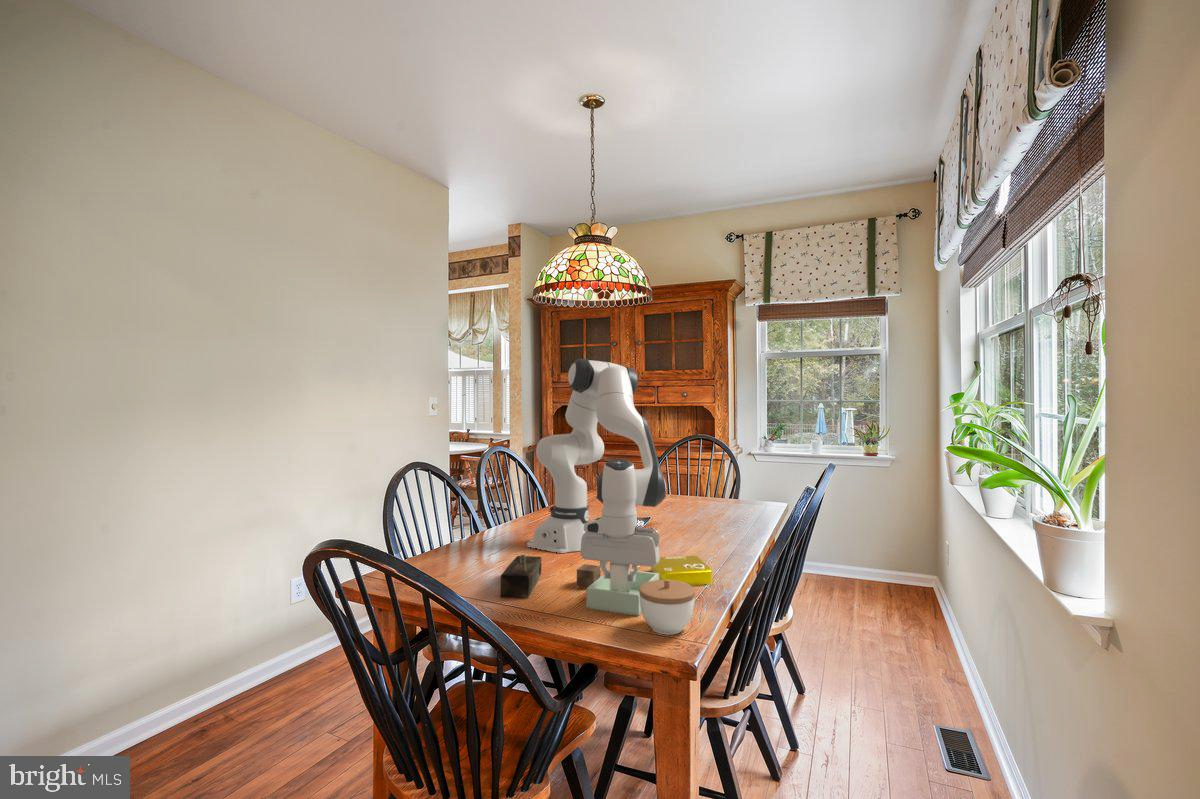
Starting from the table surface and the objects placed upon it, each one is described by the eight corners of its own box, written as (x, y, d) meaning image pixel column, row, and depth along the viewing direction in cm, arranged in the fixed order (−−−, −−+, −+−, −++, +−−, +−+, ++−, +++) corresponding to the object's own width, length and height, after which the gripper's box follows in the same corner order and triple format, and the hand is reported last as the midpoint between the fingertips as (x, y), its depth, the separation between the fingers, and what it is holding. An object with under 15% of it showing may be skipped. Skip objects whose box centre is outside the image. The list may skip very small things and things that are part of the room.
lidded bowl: (705, 627, 133) (705, 579, 133) (674, 645, 124) (674, 594, 124) (660, 613, 142) (660, 568, 142) (628, 629, 132) (627, 581, 132)
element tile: (697, 569, 177) (697, 553, 177) (714, 585, 162) (714, 568, 162) (649, 571, 175) (649, 555, 175) (661, 589, 160) (661, 571, 160)
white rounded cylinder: (614, 587, 150) (613, 560, 150) (632, 589, 148) (632, 562, 148) (607, 593, 145) (606, 565, 145) (625, 595, 143) (625, 567, 143)
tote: (586, 608, 145) (586, 588, 145) (611, 585, 161) (611, 567, 161) (638, 616, 140) (638, 595, 140) (659, 592, 156) (659, 573, 156)
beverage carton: (542, 576, 171) (542, 553, 171) (529, 600, 152) (529, 575, 151) (516, 575, 171) (515, 553, 171) (499, 599, 152) (499, 574, 152)
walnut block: (576, 587, 161) (576, 569, 160) (584, 581, 165) (583, 564, 165) (593, 589, 159) (593, 571, 159) (600, 583, 163) (600, 566, 163)
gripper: (662, 525, 146) (663, 580, 146) (587, 519, 153) (587, 571, 153) (655, 531, 140) (656, 588, 140) (577, 524, 147) (578, 579, 148)
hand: (619, 579), depth 147 cm, fingers closed on white rounded cylinder, 5 cm apart
